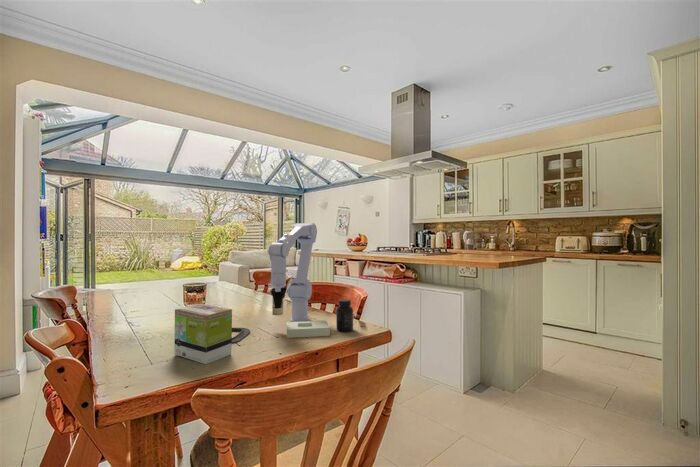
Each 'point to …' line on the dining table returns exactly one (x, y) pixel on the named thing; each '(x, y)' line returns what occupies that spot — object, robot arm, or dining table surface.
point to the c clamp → (240, 334)
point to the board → (307, 329)
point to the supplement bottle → (344, 316)
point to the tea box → (203, 333)
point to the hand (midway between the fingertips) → (278, 307)
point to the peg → (277, 311)
